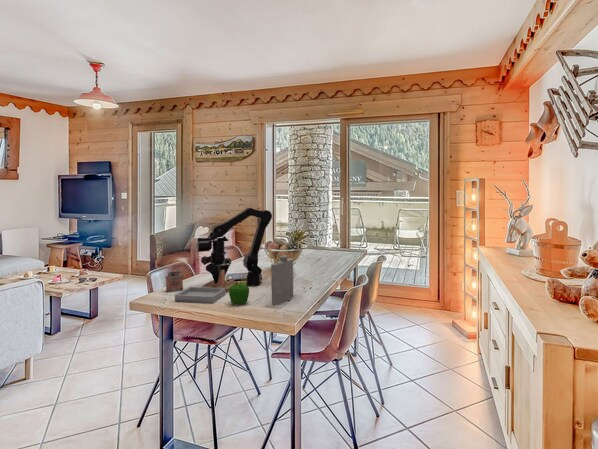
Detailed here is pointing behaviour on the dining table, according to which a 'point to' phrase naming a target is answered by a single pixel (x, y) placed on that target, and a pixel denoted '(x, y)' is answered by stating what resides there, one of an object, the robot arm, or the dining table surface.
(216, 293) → the tray
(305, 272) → the dining table surface
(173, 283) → the lighter
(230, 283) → the socket block
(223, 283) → the brown tall block
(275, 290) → the hip flask
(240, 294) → the bell pepper
